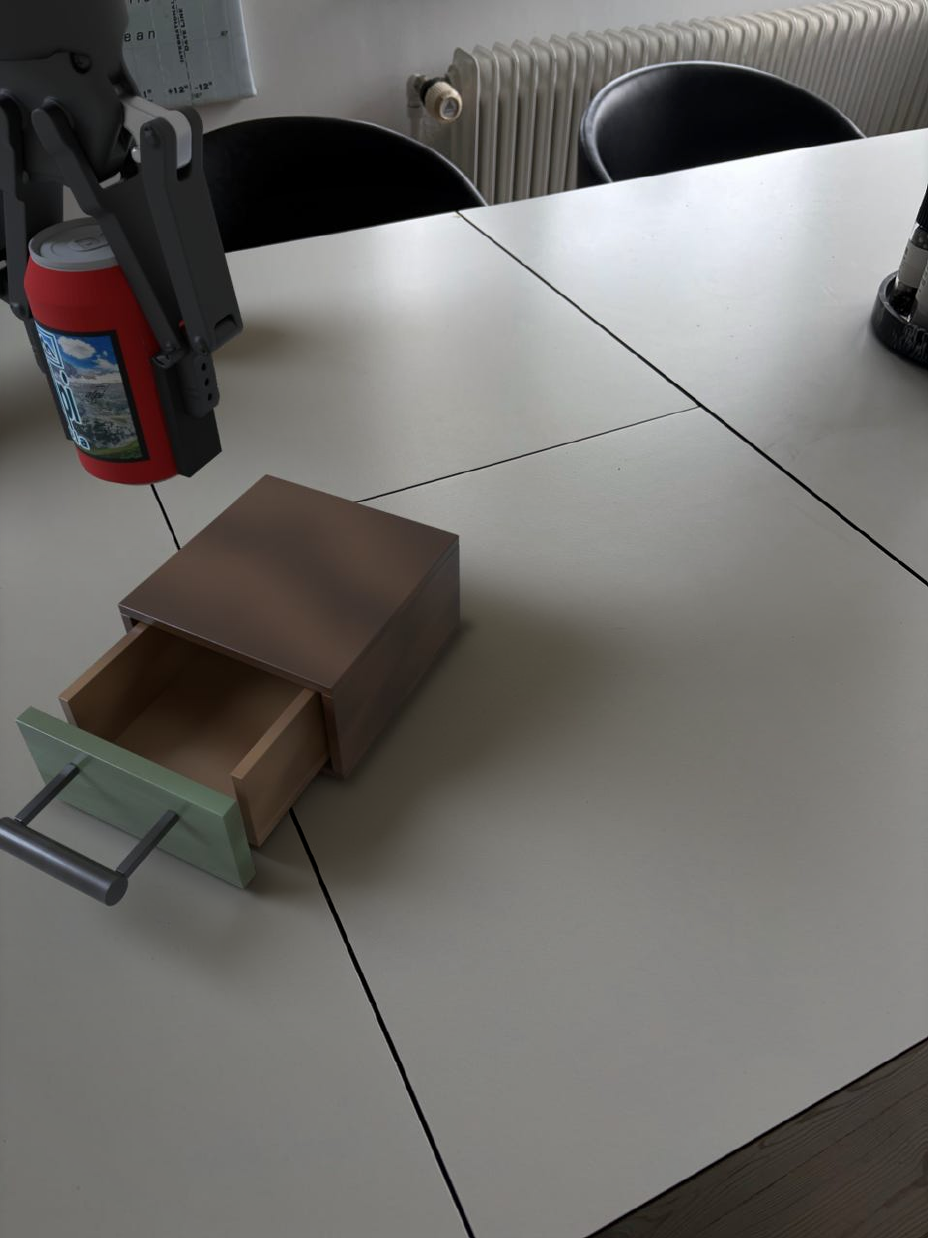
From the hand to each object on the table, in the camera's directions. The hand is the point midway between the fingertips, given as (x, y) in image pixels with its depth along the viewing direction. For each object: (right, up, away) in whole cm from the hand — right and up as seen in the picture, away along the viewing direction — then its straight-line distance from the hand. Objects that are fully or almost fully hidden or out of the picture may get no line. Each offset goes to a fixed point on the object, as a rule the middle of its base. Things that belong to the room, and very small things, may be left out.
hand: (143, 444), depth 53 cm
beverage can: (0, -1, +1) cm, 1 cm away
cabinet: (+6, -12, +17) cm, 22 cm away
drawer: (0, -19, +8) cm, 21 cm away
